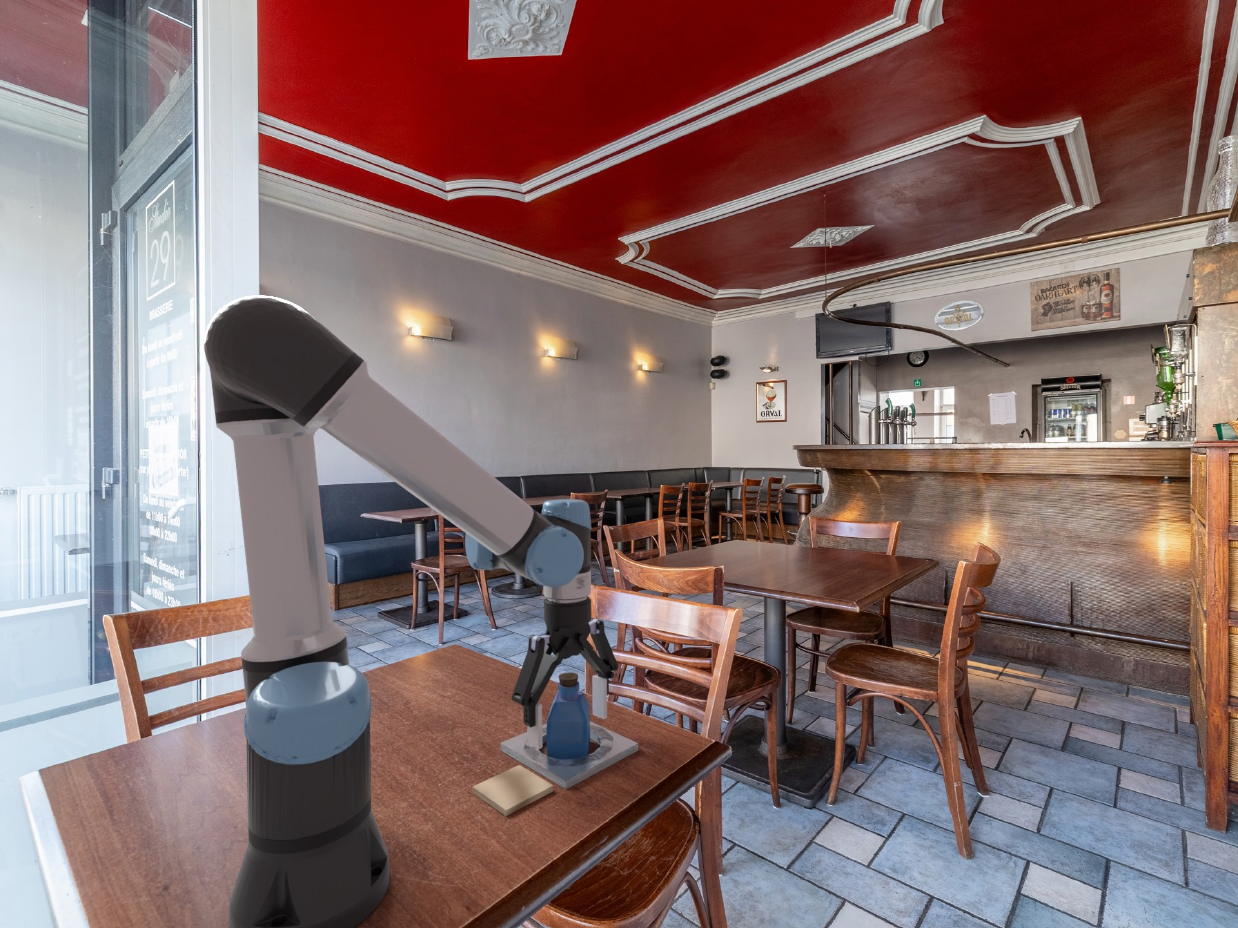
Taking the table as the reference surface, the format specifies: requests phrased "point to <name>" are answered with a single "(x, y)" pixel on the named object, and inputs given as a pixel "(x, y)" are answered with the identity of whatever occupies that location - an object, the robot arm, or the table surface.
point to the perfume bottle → (568, 721)
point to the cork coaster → (512, 789)
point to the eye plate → (571, 769)
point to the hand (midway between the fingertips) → (569, 730)
